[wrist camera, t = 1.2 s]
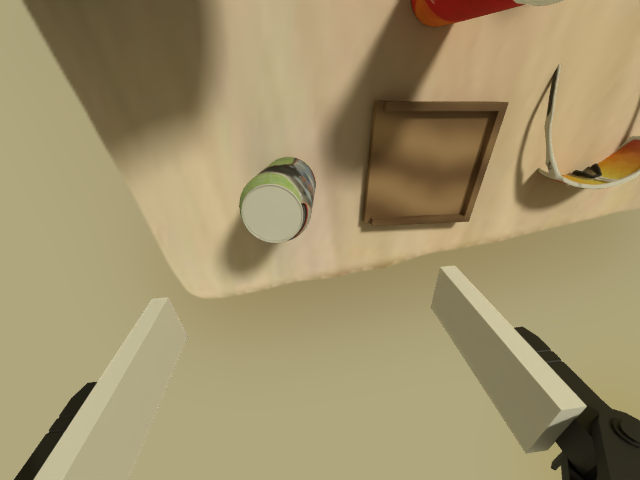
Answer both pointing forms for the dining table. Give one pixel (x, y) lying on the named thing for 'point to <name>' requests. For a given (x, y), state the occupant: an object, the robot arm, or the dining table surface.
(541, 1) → the paper cup
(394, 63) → the dining table surface
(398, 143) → the far tray
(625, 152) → the sunglasses
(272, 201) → the beverage can
